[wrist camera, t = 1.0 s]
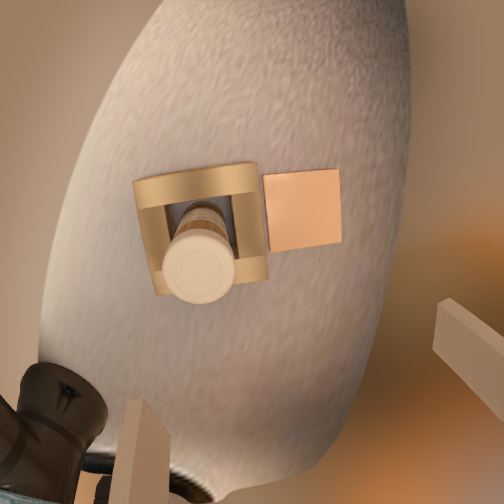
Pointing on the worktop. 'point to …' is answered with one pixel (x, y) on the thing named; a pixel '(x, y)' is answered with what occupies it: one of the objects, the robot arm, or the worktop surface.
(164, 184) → the socket block
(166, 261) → the sprinkles bottle
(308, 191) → the terracotta tile
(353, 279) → the worktop surface
